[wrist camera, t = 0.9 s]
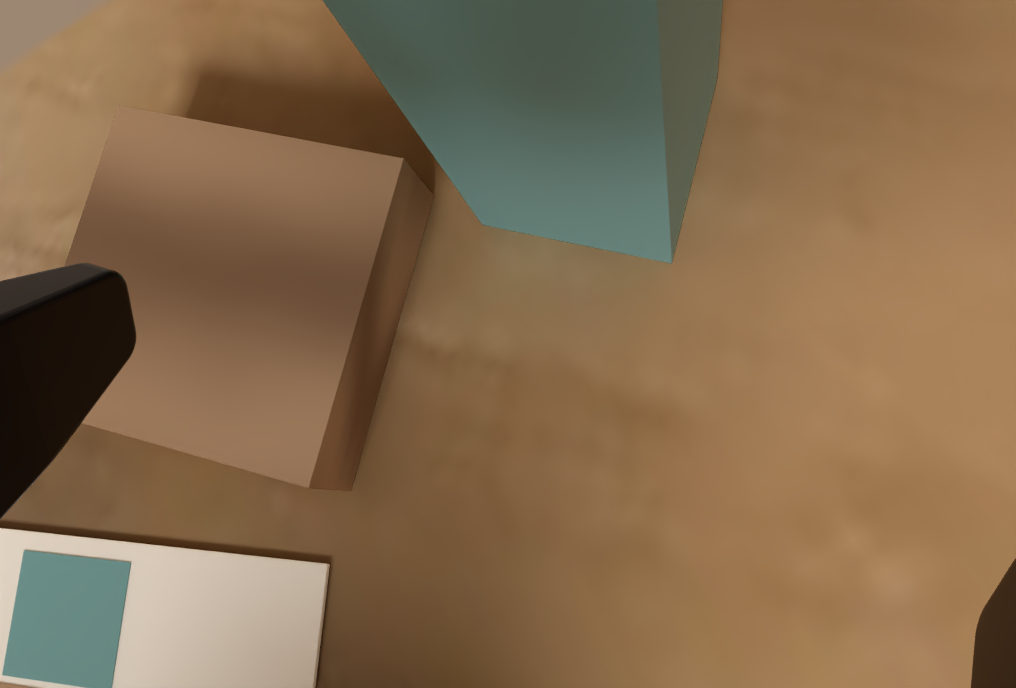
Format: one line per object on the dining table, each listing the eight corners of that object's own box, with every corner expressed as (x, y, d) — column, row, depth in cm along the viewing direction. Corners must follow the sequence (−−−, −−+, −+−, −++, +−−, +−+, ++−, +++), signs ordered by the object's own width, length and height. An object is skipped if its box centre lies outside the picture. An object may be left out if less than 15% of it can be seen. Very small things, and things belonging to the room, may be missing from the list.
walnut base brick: (356, 491, 23) (308, 488, 20) (96, 417, 25) (18, 404, 22) (437, 200, 24) (403, 158, 21) (182, 150, 26) (118, 105, 23)
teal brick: (671, 263, 22) (656, -6, 11) (482, 224, 23) (282, -56, 12) (717, 78, 23) (748, -366, 11) (530, 49, 24) (387, -380, 12)
